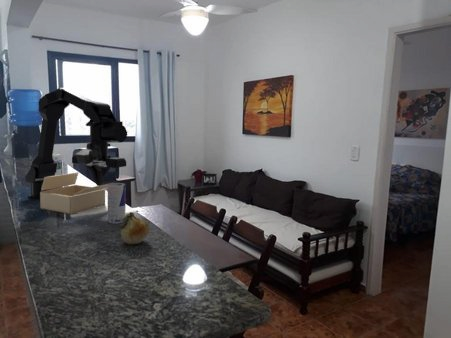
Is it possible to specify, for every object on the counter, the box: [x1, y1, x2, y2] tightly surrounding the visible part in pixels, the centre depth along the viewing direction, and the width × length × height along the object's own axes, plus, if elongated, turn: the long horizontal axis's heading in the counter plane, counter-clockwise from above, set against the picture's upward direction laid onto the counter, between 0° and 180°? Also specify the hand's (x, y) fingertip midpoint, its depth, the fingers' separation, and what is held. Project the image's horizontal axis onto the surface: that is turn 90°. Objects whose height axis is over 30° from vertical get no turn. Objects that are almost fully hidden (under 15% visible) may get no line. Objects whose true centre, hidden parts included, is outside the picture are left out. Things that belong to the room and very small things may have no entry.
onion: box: [118, 211, 151, 245], centre depth 87 cm, size 8×8×8 cm
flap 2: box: [73, 182, 111, 196], centre depth 116 cm, size 5×15×1 cm, turn 160°
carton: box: [39, 184, 106, 215], centre depth 119 cm, size 14×17×6 cm
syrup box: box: [52, 153, 64, 176], centre depth 155 cm, size 6×6×14 cm
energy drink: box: [107, 182, 127, 225], centre depth 104 cm, size 5×5×12 cm
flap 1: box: [41, 172, 79, 190], centre depth 121 cm, size 5×15×1 cm
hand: (98, 185), depth 115 cm, fingers closed
